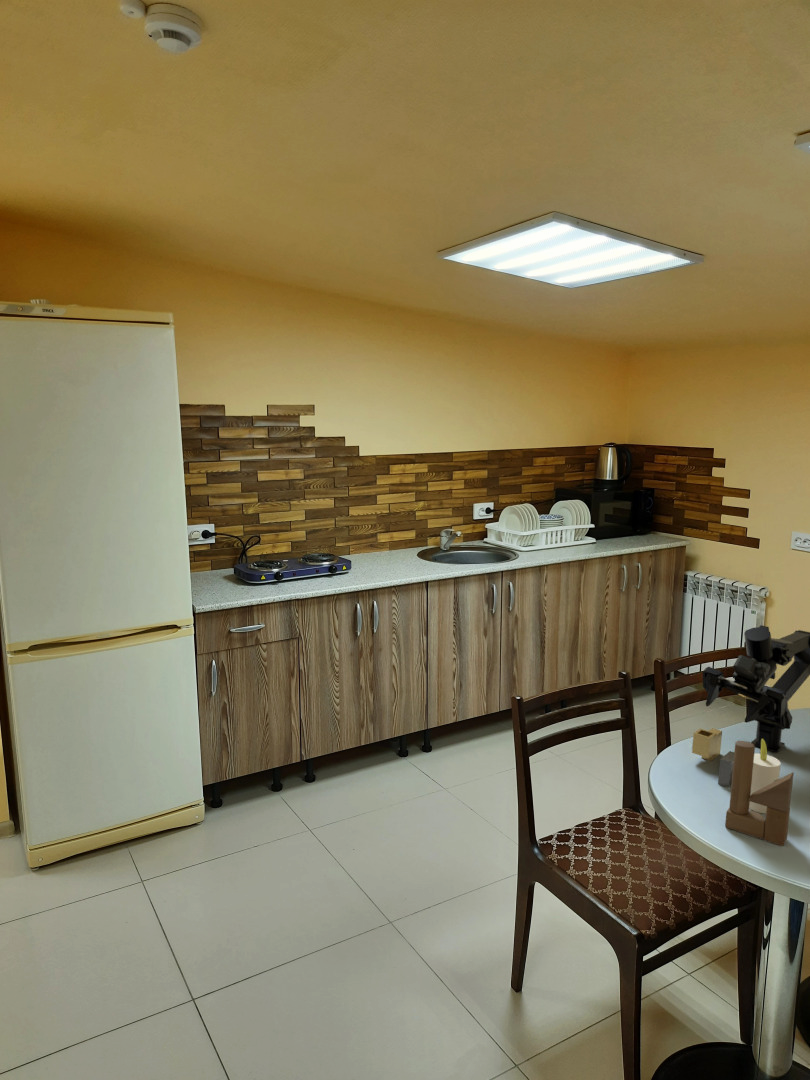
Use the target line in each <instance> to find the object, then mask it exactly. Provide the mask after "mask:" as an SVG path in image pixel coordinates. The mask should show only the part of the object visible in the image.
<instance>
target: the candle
mask: <svg viewBox="0 0 810 1080" xmlns="http://www.w3.org/2000/svg"><path fill="white" fill-rule="evenodd" d="M781 764H782V763H781V761H780V760H779V759H777V758H776V757H774V756H772V755H769V754H768V750H767V747H766V743H765V741H764V739H762V740H761V748H760V753H756V752H755V753H754V762H753V773H752V783H751V793H750V796H751V794H752V793H754V792H756V791H758V790H759V789H761V788H763V787H765V786H767V785H769V784H771V783H773V782H775V781H777V780H779V779H780V771H781ZM749 811H752V812H756V813H759V814H765V815H766V811H767V806H764V805H760V804H757V803H754V802H750V804H749Z"/></svg>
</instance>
